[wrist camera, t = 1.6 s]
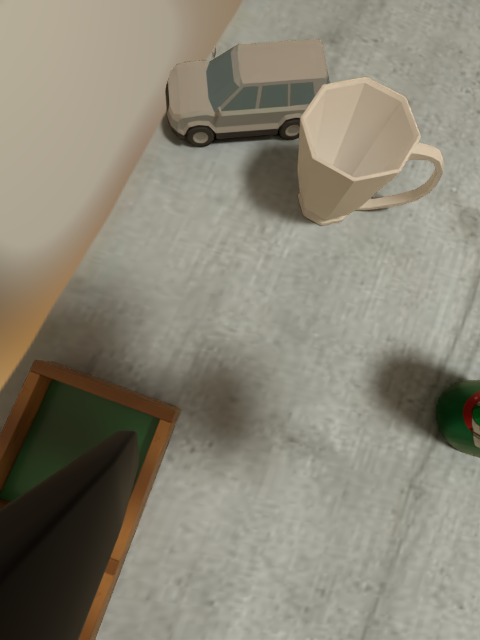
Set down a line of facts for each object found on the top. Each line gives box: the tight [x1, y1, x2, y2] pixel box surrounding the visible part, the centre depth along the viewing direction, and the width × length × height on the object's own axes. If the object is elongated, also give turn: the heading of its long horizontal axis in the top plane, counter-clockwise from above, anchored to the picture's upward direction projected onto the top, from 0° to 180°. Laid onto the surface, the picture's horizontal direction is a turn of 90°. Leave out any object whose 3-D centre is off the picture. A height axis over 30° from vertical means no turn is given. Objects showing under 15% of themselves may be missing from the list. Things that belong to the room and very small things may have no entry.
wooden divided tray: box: [0, 360, 181, 640], centre depth 22 cm, size 19×10×2 cm, turn 161°
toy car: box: [166, 39, 329, 146], centre depth 26 cm, size 6×13×5 cm, turn 96°
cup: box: [297, 77, 444, 226], centre depth 23 cm, size 7×10×8 cm
